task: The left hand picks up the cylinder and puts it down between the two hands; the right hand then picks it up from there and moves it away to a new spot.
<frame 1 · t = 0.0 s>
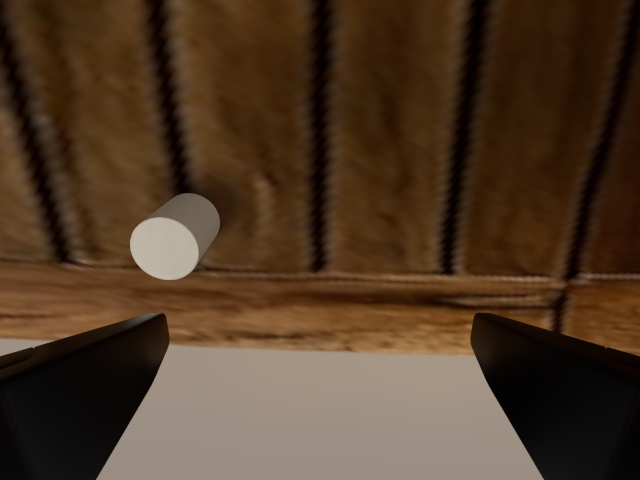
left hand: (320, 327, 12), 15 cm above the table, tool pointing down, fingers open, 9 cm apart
cylinder: (191, 220, 26), on the table
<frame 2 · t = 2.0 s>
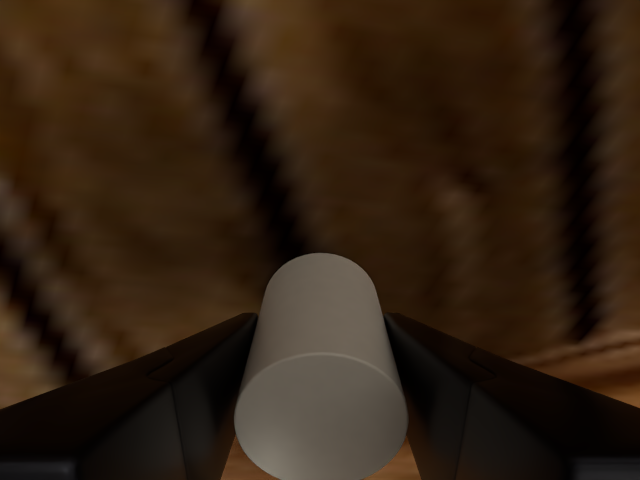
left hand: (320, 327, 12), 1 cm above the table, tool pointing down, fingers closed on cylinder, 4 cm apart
cylinder: (320, 304, 13), on the table, touching left hand
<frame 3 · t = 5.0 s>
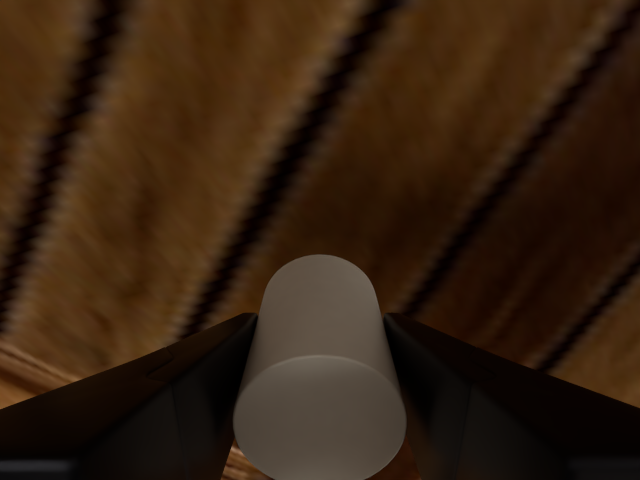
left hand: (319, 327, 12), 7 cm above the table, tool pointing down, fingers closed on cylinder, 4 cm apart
cylinder: (319, 305, 13), point 6 cm above the table, touching left hand
when the left hand's fingers open (2 cm above the table, at t = 7.9 s): cylinder stays where it is, on the table.
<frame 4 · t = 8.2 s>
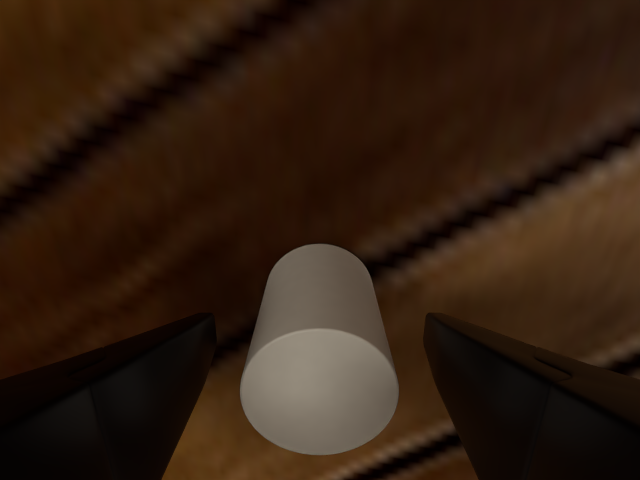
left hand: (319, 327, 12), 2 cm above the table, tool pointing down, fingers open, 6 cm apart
cylinder: (319, 292, 14), on the table
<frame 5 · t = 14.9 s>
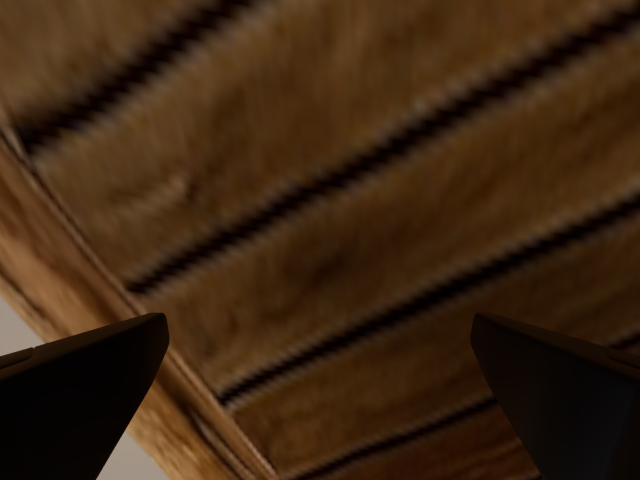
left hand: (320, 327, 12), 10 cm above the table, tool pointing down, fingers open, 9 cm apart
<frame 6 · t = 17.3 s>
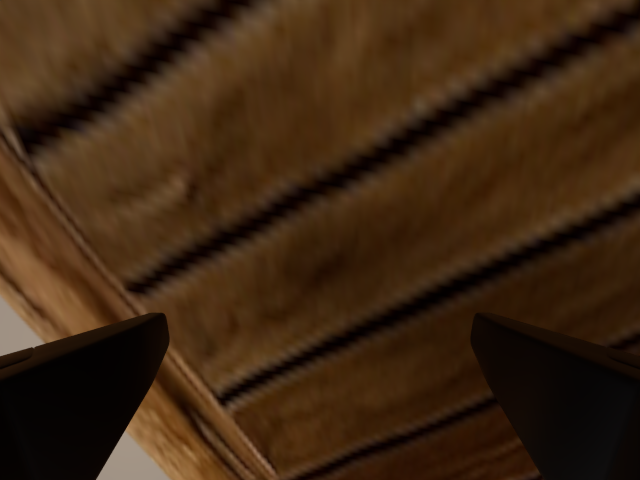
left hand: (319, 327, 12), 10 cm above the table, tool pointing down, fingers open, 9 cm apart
when the right hand's fingers open (1 cm above the table, at t = 19.9 s): cylinder stays where it is, on the table.
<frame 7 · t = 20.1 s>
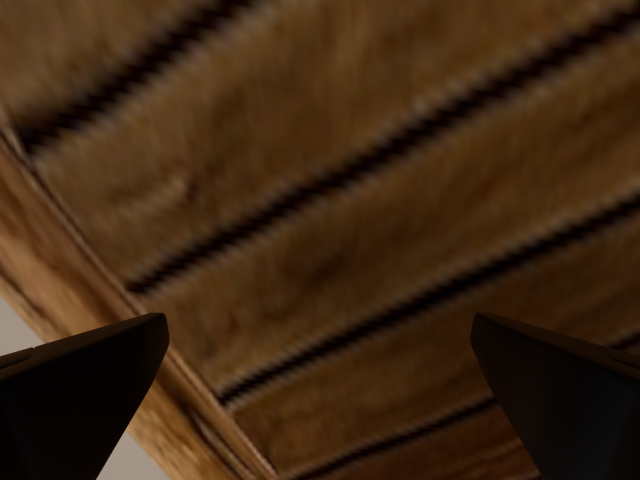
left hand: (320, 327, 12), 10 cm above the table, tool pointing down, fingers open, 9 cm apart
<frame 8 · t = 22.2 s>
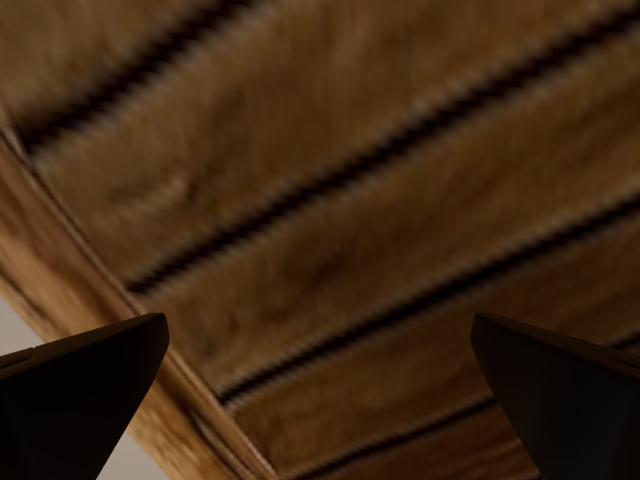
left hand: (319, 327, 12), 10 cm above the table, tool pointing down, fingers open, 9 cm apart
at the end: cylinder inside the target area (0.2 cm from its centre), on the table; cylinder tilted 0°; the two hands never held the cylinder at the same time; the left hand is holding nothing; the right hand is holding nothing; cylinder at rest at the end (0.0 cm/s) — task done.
